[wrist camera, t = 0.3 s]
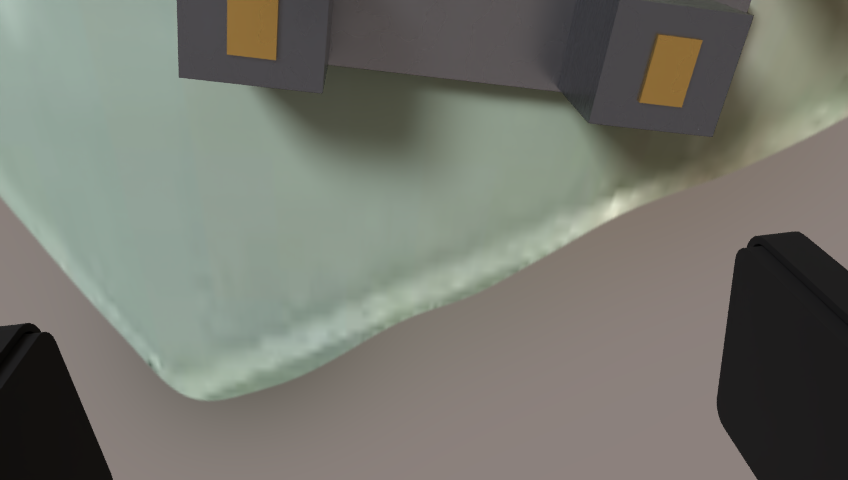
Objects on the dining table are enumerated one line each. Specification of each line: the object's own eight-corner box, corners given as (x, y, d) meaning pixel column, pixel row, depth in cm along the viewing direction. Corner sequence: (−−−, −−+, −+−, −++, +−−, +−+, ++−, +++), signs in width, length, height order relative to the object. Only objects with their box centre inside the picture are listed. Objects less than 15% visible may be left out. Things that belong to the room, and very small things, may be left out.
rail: (191, -86, 33) (146, -74, 27) (738, -9, 37) (822, 19, 30) (193, 41, 36) (153, 81, 29) (702, 101, 40) (772, 150, 33)
